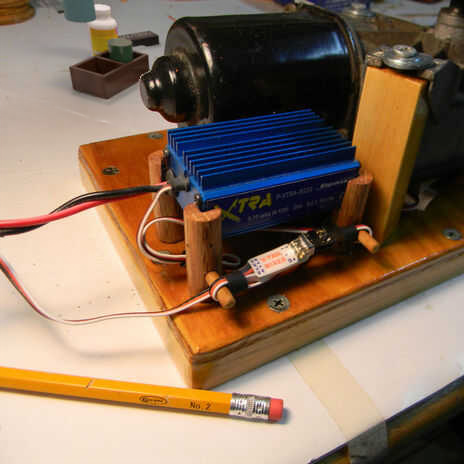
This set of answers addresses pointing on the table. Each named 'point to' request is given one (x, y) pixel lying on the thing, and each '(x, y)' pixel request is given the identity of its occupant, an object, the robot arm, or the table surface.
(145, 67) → the cup holder
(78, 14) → the water bottle
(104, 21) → the supplement bottle
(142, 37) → the multiport hub
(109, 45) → the green jar
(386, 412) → the table surface
